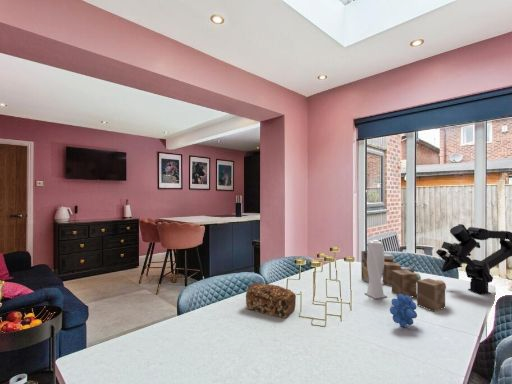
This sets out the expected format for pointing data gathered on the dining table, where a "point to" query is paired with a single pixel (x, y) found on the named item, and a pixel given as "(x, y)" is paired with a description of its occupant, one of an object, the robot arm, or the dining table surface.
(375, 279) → the skyscraper
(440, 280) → the button terracotta
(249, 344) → the dining table surface
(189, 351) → the dining table surface
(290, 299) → the bread
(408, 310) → the grapes
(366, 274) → the coffee box
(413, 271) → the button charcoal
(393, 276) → the box middle
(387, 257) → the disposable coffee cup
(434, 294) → the box right
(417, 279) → the button sage
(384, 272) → the box left
